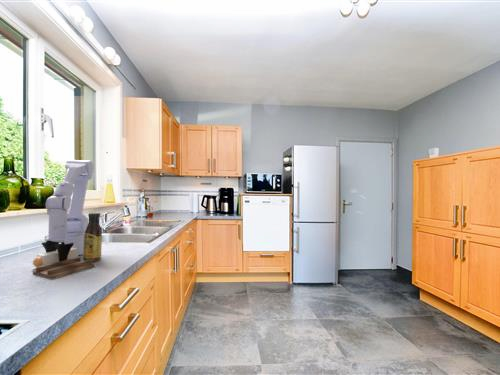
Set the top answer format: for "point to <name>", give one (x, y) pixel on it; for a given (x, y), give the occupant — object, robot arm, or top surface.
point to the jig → (63, 268)
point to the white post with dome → (52, 257)
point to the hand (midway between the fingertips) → (57, 260)
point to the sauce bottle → (93, 238)
